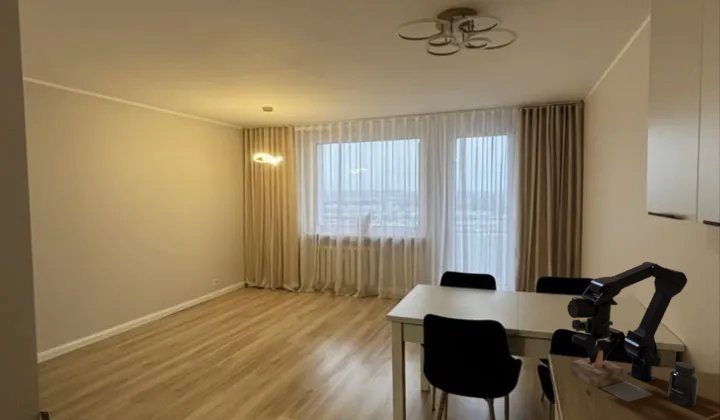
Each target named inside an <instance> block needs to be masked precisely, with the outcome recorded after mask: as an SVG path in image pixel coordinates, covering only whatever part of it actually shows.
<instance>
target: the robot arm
mask: <svg viewBox="0 0 720 420" xmlns="http://www.w3.org/2000/svg"><path fill="white" fill-rule="evenodd" d="M651 277H652V278H654V281H653V284H654V289H655V290H654V293H653V295H652V298H651V299H650V302H649V304H648V306H647V307H646V311H645V312H644V314H643V316H642V319H641V320H640V323H639V325H638V327H637V328H635V329H634V330H631V329H629V330H628V331H627V333H626V334H625V333H624V331H622V330H619V329H616V328H613V327H611V326H613V324H614V322H613V321H612V320H611V311H612V306H618V302H616V301H615V299H614V298H615V297H617V296H618V295H619V294H620V293H621V292H622V290H624V289H625V288H628V287H630V286H633V285H634V284H637V283H639V282H642V281H645V280H646V279H647V280H648V279H649V278H651ZM687 283H688V278H687V275H686V274H685V273H684V272H682V271H679V270H675V269H671V268H668V267H663V266H661V265H660V264H658V263H655V262H650V261H643V262H642V263H641V264H639V265H637V266H634V267H632V268H630V269H627V270H625V271H623V272H620V273H618V274H615V275H612V276H602V277H597V278H594V279H592V280H591V281H590V283H589V285H588V287H587V288H586V290H584V292H583V293H582V295H581V297H577V296H572V297H571V300H570V301H569V302H568V304H567V313H568V315H569V316H570V317H571V318H573V320H572V322H571V327H572V329H573V330H575V332H579V333H575V334H572V338H571V339H572V340H571V341H572V343H574V344H577V345H579V346H581V347H583V348H585V350H586V352H587V357H588V358H589V359H590V362H591V363H594V362H595V360H596V358H597V355H598V352H599V350H602V351H603V361H605V360H606V359H607V358H608V356H609V355H610V354H611V353H612V351H613V350H614V348H615V347H616V346H617V345H618V344H619V343H618V342H623V347H624V349H625V350H626V352H627V355H628V356H630V357H631V358H632V360H631V366H630V367H631V368H630V369H631V371H629V372H627V373H626V375H628V376H631V377H632V378H635V379H637V380H639V381H641V382H644V383H648V382H651V381H652V382H653V381H654V380H657V377H656V376H653V368H654V367H656V366H659V365H660V362H661V360H662V359H661V358H660V356H658V355H657V354H656V353H655V348H656V339H655V335H656V333H657V330H658V328H659V326H660V324H661V322H662V320H663V318H664V316H665V313H666V311H667V310H668V307H669V305H670V303H671V301H672V299H673V298H674V297H675V296H677V295H679V294H680V293H681V292H682V291H683V289H684V288H685V287H686V285H687ZM580 319H586V320H580ZM581 331H582V332H581ZM615 338H616V340H617V341H618V342H617V341H615ZM598 343H599V345H598Z"/></svg>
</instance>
